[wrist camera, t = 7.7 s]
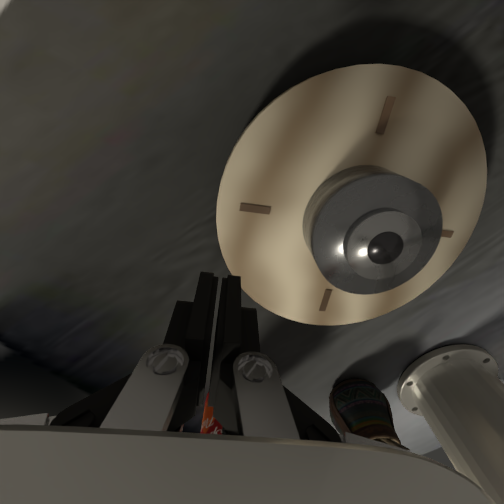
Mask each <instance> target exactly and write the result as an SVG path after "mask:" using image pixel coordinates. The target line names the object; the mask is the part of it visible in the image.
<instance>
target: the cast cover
mask: <svg viewBox="0 0 504 504" xmlns="http://www.w3.org/2000/svg"><path fill="white" fill-rule="evenodd" d="M302 228H303V236H304V240H305V242H306V245H307V247H308V249H309V251H310V253H311V255H312V256H313V258H314V260H315V262H316V264H317V266H318V268H319V270H320V272H321V273H322V275H323V276H324V277H325V279H326V280H327V281H328V282H329V283H330V284H332V285H333V286H335V287H336V288H338V289H340V290H342V291H345V292H348V293H353V294H361V295H368V294H377V293H381V292H385V291H388V290H391V289H394V288H396V287H398V286H400V285H402V284H404V283H405V282H407V281H409V280H410V279H411V278H413V277H414V276H415V275H416V274H417V273H419V272H420V271H421V270H422V269H423V268H424V266H425V265H426V264H427V263H428V262H429V260H430V259H431V258H432V256H433V254H434V253H435V251H436V249H437V246H438V244H439V241H440V238H441V234H442V228H443V219H442V212H441V209H440V206H439V203H438V201H437V199H436V198H435V197H434V195H433V194H432V193H431V192H430V191H429V190H428V189H427V188H426V187H424V186H423V185H421V184H420V183H417V182H415V181H413V180H411V179H409V178H406V177H404V176H402V175H399V174H397V173H395V172H393V171H390V170H388V169H386V168H383V167H380V166H375V165H359V166H354V167H350V168H347V169H344V170H342V171H339V172H338V173H336V174H334V175H332V176H331V177H330V178H328V179H327V180H326V181H325V182H323V183H322V184H321V185H320V186H319V187H318V189H317V190H316V191H315V192H314V194H313V195H312V197H311V198H310V200H309V202H308V204H307V206H306V209H305V212H304V216H303V224H302Z"/></svg>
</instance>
